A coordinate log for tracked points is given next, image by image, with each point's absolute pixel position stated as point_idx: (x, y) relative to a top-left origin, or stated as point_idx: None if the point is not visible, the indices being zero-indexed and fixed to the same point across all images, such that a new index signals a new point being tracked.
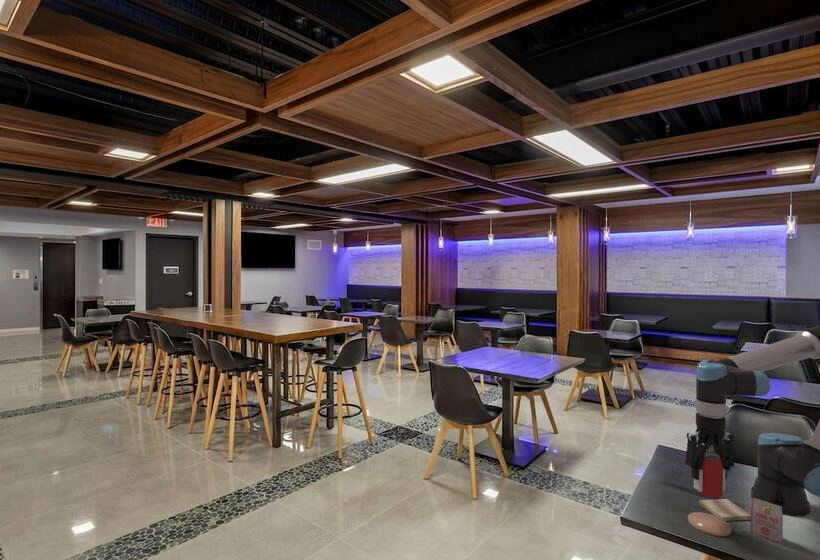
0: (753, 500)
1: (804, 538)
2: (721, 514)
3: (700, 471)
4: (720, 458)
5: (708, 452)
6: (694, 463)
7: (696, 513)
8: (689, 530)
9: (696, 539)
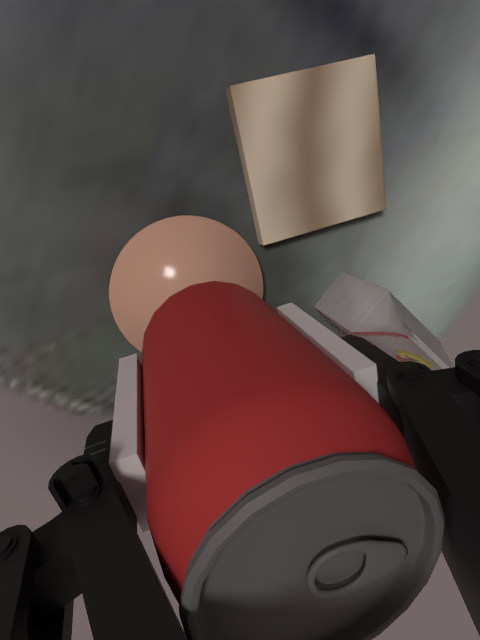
0: (402, 335)
1: (451, 299)
2: (270, 224)
3: (142, 524)
4: (399, 604)
5: (369, 470)
6: (64, 638)
7: (164, 229)
8: (93, 347)
9: (100, 399)
